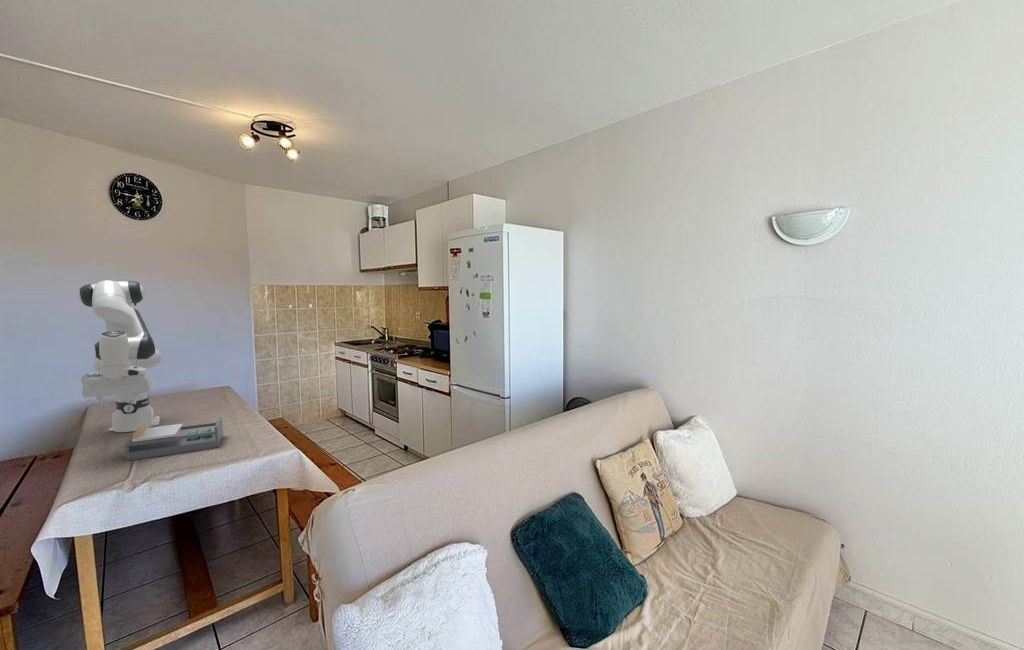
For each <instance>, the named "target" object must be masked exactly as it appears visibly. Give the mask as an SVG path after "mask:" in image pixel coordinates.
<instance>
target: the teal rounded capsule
mask: <svg viewBox="0 0 1024 650" xmlns="http://www.w3.org/2000/svg"><path fill="white" fill-rule="evenodd" d="M197 433H200V431H199V429H198V428H195V429H192V430H191V429H189V430H188V431H187V435H189V434H197ZM192 440H199V437H193V438H189V441H192Z"/></svg>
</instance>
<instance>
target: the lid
mask: <svg viewBox="0 0 1024 650" xmlns="http://www.w3.org/2000/svg"><path fill="white" fill-rule="evenodd" d="M183 426H184V423H178V424H169V425H160V426H159V425H158V426H152V427H149V428H146V424H145V425H141V426H140V427H139V428H138V429H137V430H136V431H133V433H132V436H133V439H132V442H136V441H144V440H151V439H159V438H166V437H174V436H178V433H179V432H180V431H181V430H180V429H181V428H182V427H183Z"/></svg>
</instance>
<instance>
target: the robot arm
mask: <svg viewBox="0 0 1024 650" xmlns="http://www.w3.org/2000/svg"><path fill="white" fill-rule="evenodd" d="M144 296H145V290H144V287H143V286H142V284H141V283H140V282H138V281H136V280H127V281H125V280H122V281H119V280H118V281H115V280H109V279H108V280H107V279H106V280H100V281H98V282H97V283H93V284H92V283H89V284H84V285H82V286H81V287H80V288H79V291H78V298H79V301H80V302H81V303H82V304H83V305H84V306H86V307H88V308H92V310H93V312H94V314H95V315H96V317H98V318H100V319H102V320H104V324H105V328H106V331H104V332H102V333H100V335H99V341H97V342H96V343H94V345H93V346H94V351H95V358H94V360H93V368H94V370H95V371H96V372H95V373H85V374H84V375H82V377H81V378H80V380H81V384H82V388H81V389H82V391H81V392H82V393H81V395H82V396H83V398H85V399H87V398H94V397H95V398H96V400H97V401H98V403H100V407H101V408H107V407H108V406H109V404H108V403H109V402H108V401H105V400H104V399H103V398H104V397H108V396H115V398H116V401H115V405H114V406H115V411H114V412H112V416H111V417H112V421H111V422H112V426H111V427H109V428H108V432H115V433H128V432H129V433H131V432H135V431H136V430H137V429H138V428H139V427H140V426H141V425H145V424H146V428H151V427H157V426H159V425H160V422H161V416H159V415H155V411H154V408H153V407H152V406H151V405H150V397H149V395H148V392H150V391H151V390H152V383H151V378H150V376H149V375H148V374H147V371H148V369H151V368H154V367H157V366H159V364H160V363H161V361H162V353H161V352H160V350H158V349H157V347H156V343H155V341H154V339H153V338H152V336H151V334H150V332H149V330H148V327H147V326H146V323H145V321H144V319H143V317H142V315H141V313H140V312H139V310H138V309H136V308H134V307H136V306H137V304H139V303H140V302H141V301H143V299H144ZM132 304H133V306H134V307H133V306H132Z"/></svg>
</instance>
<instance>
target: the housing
mask: <svg viewBox="0 0 1024 650" xmlns="http://www.w3.org/2000/svg"><path fill="white" fill-rule="evenodd" d="M212 427H213V428H214V430H212ZM199 428H202V429H201V430H200V432H199V433H197V434H189V435H188V434H181V435H176V436H174V437H166V438H159V439H151V440H144V441H136V442H132V439H133V435H132V436H131V437H130V438H129V439H128V440H127V441H126V442H125V443H124V448H125V461H128V462H129V461H134V460H141V459H147V458H148V459H149V458H154V457H160V456H161V457H162V456H166V455H167V456H168V455H176V454H182V453H188V452H194V451H202V450H209V449H215V448H220V445H221V443H222V440H223V438H224V430H223V428H224V427H223V417H218V419H217V421H216V422H209V423H208V422H207V423H200V424H192V425H186V426H185V425H183V427H182V428H181V429H180V431H183V430H191V429H192V430H193V429H199ZM193 437H199V440H192V441H189V438H193Z"/></svg>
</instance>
